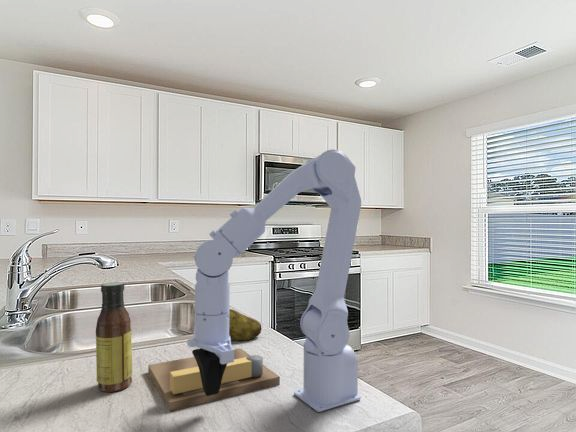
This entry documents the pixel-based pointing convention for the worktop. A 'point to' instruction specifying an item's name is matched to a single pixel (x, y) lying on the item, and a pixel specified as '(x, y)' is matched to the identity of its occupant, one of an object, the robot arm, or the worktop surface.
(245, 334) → the potato
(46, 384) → the worktop surface
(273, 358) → the worktop surface
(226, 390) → the label board
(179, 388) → the swing bar
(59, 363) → the worktop surface
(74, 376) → the worktop surface
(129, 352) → the sauce bottle
